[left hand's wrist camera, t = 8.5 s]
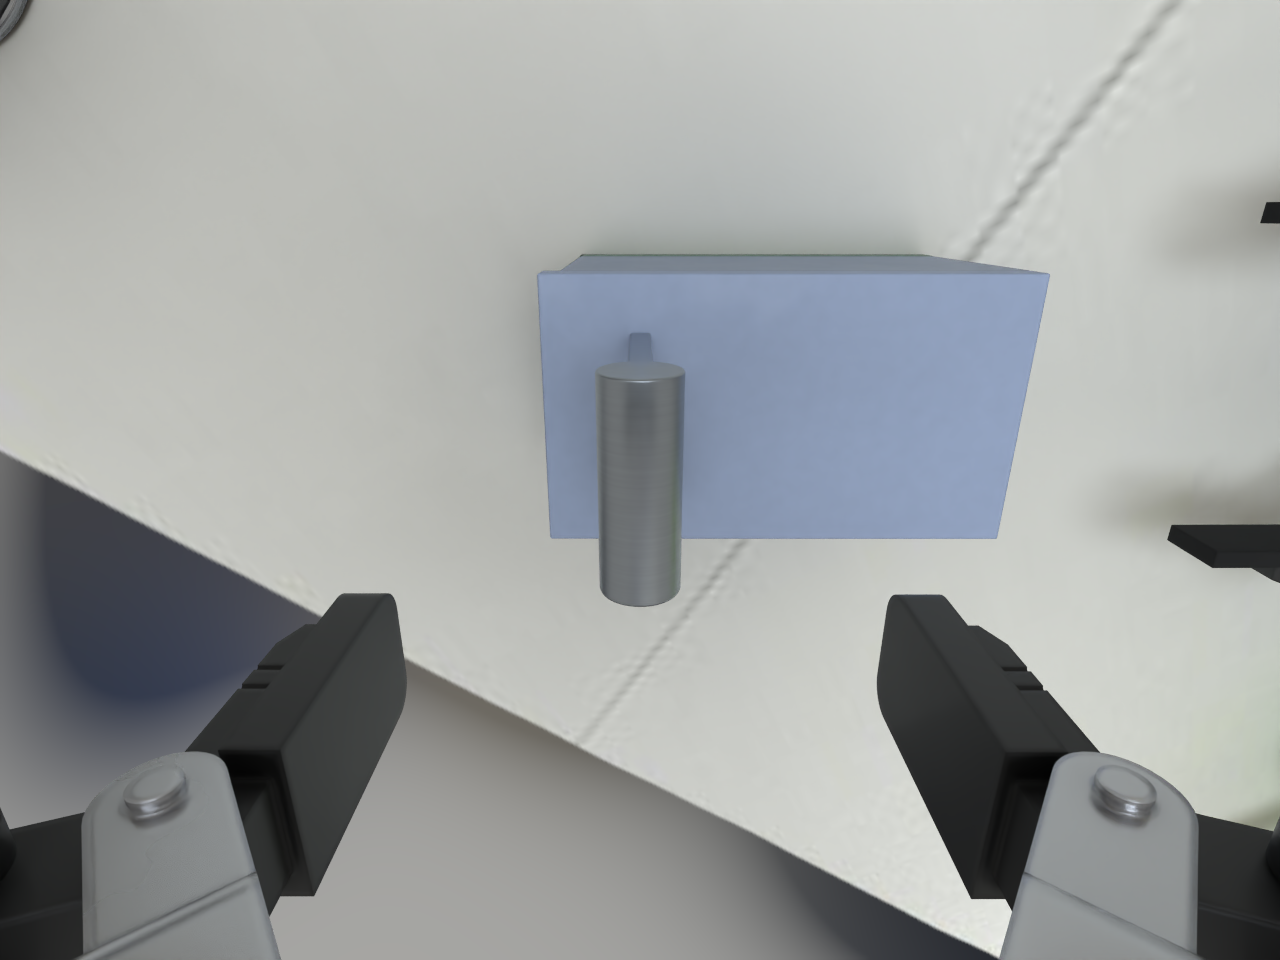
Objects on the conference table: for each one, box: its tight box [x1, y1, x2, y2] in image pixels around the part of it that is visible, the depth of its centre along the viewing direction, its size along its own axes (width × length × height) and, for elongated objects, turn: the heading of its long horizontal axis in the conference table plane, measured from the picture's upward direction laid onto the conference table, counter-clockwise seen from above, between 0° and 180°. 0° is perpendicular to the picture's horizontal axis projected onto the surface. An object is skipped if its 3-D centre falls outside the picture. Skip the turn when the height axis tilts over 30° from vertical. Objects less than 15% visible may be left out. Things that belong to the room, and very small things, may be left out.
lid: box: [537, 271, 1050, 607], centre depth 21 cm, size 17×10×9 cm, turn 90°
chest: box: [561, 255, 1029, 271], centre depth 30 cm, size 16×10×10 cm, turn 90°
